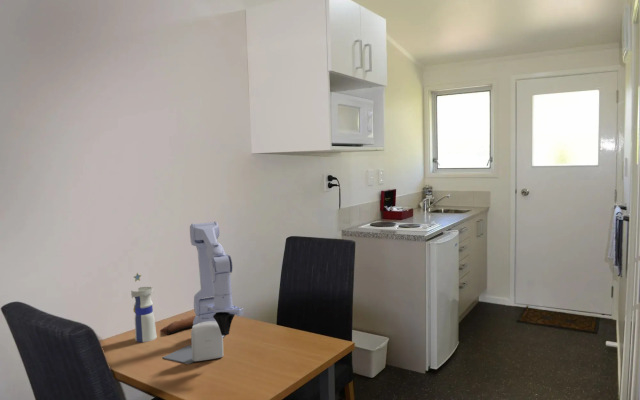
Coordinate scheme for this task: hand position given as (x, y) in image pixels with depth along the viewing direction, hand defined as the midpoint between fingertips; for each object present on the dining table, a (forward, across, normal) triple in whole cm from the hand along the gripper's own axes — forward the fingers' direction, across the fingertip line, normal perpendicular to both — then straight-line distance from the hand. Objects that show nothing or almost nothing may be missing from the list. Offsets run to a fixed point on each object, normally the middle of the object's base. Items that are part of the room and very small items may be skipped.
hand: (225, 334), depth 153 cm
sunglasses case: (+10, -41, +21) cm, 47 cm away
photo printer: (+9, -8, 0) cm, 13 cm away
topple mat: (+9, -17, 0) cm, 20 cm away
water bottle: (+10, -46, +5) cm, 47 cm away
